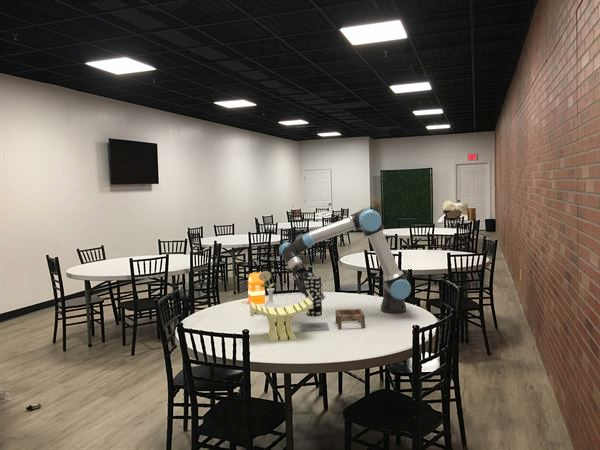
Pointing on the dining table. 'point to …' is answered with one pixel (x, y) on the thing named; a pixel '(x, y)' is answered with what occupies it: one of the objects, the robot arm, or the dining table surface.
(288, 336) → the slatted curved stool
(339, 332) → the dining table surface
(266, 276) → the flower in vase
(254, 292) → the orange juice
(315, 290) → the spotted tube
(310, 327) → the mat
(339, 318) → the square frame stand
